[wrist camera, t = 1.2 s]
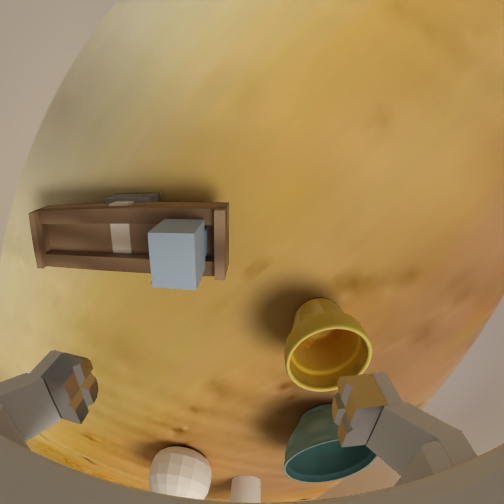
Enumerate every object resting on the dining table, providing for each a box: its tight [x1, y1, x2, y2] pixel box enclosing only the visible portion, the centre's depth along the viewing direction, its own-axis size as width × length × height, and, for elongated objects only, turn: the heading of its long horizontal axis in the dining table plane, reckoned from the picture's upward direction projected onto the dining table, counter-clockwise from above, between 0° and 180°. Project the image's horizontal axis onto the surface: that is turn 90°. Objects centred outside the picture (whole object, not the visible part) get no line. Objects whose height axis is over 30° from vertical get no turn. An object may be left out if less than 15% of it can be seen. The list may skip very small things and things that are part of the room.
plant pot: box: [285, 298, 372, 392], centre depth 36 cm, size 10×10×10 cm
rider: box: [148, 219, 208, 290], centre depth 28 cm, size 5×4×7 cm
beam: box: [29, 193, 229, 280], centre depth 33 cm, size 8×24×8 cm, turn 88°
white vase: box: [149, 446, 212, 500], centre depth 47 cm, size 13×13×14 cm
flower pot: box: [284, 404, 377, 483], centre depth 43 cm, size 16×16×11 cm
